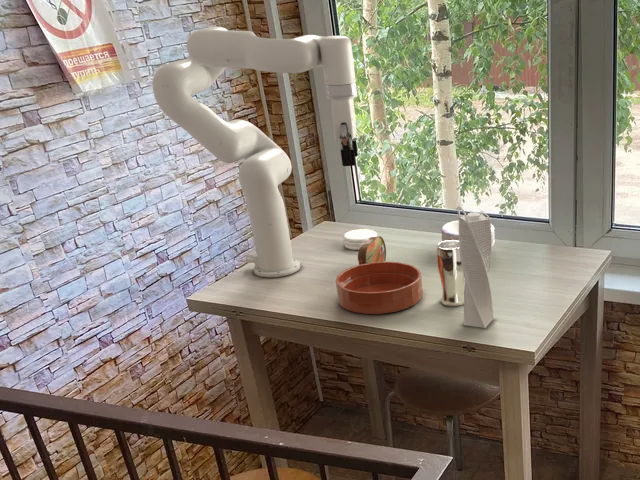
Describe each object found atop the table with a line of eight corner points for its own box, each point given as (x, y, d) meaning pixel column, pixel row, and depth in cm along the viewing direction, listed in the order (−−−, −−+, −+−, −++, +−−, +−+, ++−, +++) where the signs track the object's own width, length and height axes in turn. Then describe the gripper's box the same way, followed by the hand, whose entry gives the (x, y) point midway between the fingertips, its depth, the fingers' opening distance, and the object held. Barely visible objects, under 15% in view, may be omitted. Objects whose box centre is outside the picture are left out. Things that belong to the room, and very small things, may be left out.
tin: (369, 280, 213) (365, 250, 209) (358, 279, 213) (354, 249, 209) (388, 260, 225) (385, 232, 221) (377, 260, 226) (374, 231, 222)
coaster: (350, 239, 243) (349, 228, 241) (382, 240, 241) (380, 228, 239) (340, 250, 234) (338, 238, 232) (372, 251, 233) (371, 239, 231)
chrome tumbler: (457, 309, 195) (453, 251, 187) (434, 303, 198) (430, 246, 191) (473, 299, 200) (470, 242, 192) (450, 294, 203) (447, 238, 196)
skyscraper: (456, 326, 186) (449, 210, 172) (469, 313, 192) (463, 200, 178) (487, 330, 184) (482, 213, 170) (499, 318, 190) (495, 203, 176)
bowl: (325, 312, 194) (322, 290, 192) (357, 280, 212) (354, 259, 210) (407, 318, 191) (405, 295, 188) (432, 285, 209) (431, 263, 206)
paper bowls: (505, 249, 231) (504, 223, 228) (475, 265, 220) (474, 238, 216) (462, 241, 239) (461, 215, 235) (432, 256, 228) (430, 229, 224)
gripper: (329, 86, 201) (338, 154, 210) (322, 97, 186) (332, 170, 195) (359, 84, 202) (367, 152, 210) (354, 96, 187) (363, 168, 195)
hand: (350, 161), depth 202 cm, fingers open, 9 cm apart
